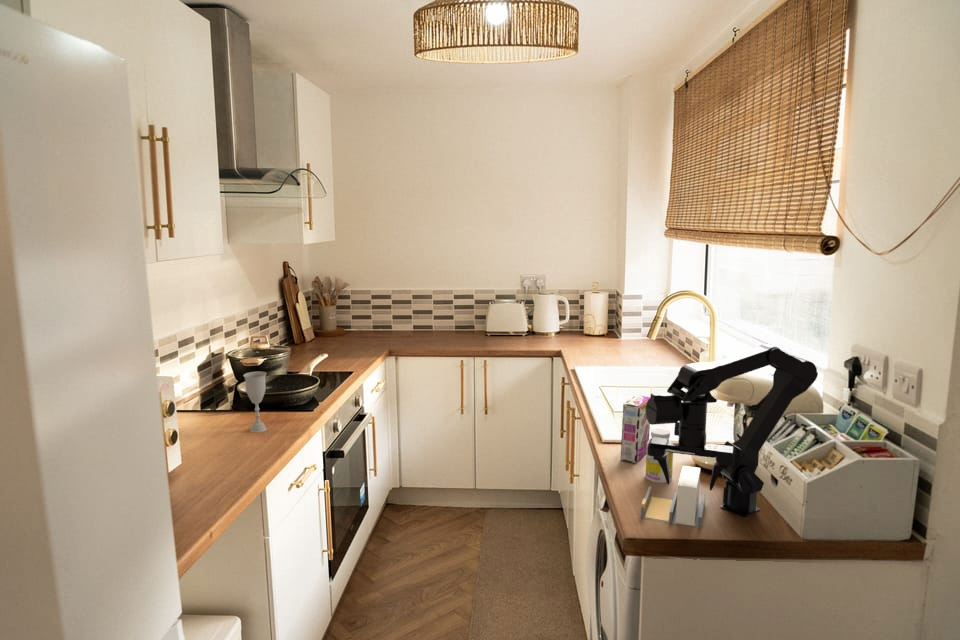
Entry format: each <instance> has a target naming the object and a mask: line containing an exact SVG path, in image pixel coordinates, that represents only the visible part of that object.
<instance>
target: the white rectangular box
mask: <svg viewBox="0 0 960 640" xmlns="http://www.w3.org/2000/svg"><path fill="white" fill-rule="evenodd" d="M700 481H701V467H695V466H688V465H682V468H681V471H680V475H679V479H678V483H677V509H676V523H678V524H677V525H679V524H684V525H683V526H685V525H690V526H689V527H691V526H695V520H696V515H697V509H698V504H699V499H700V498H699V497H700V483H701V482H700Z"/></svg>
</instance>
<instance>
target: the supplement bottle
mask: <svg viewBox="0 0 960 640" xmlns="http://www.w3.org/2000/svg"><path fill="white" fill-rule="evenodd" d="M650 430H651V431H650V437H651V438H652V437H658V438H666V439H668V444H673V441H671V440H670V437H671V432H670V431H669V430H667V429H664V428H654V429H650ZM649 441H650V439H649V440H648V442H647V451H646V454H645V455H646V456H645V459H646V460H645V478H646V479H647V480H649V481H650V482H653V483H657V484H658V483H659V484H665V483H666V484H667V481H666V479H665V476H664V473H663V470H662V468H661V466H660V464H659V463H658V461H657V460H654V459H653V456H649V455H647V452H648V444H649ZM673 458H674V453H671V452H669V468H670V482H671V481H672V478H673V465H674V464H673V461H674V459H673Z"/></svg>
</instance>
